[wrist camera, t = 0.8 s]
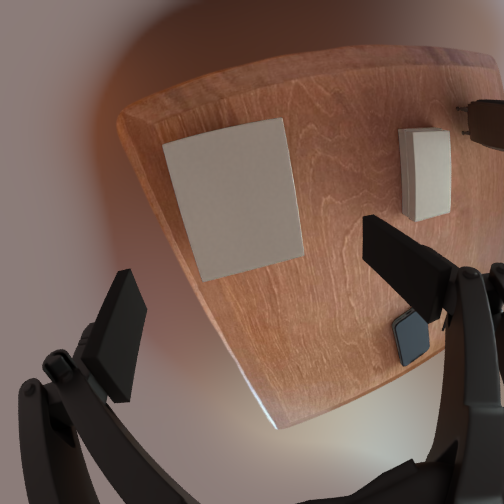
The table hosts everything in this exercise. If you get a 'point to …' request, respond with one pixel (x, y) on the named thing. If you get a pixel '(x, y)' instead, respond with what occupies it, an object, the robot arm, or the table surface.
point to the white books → (425, 172)
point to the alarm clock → (486, 123)
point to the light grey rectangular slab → (236, 197)
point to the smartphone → (411, 336)
